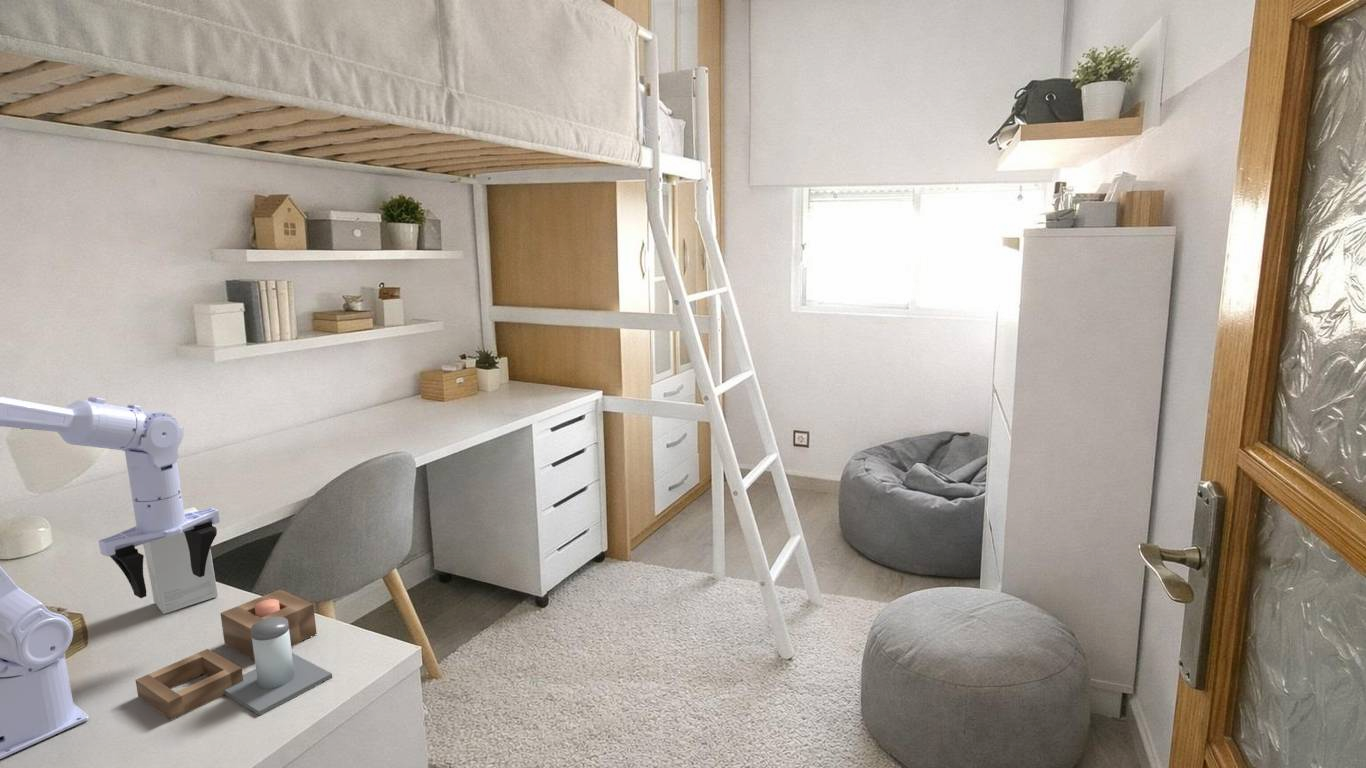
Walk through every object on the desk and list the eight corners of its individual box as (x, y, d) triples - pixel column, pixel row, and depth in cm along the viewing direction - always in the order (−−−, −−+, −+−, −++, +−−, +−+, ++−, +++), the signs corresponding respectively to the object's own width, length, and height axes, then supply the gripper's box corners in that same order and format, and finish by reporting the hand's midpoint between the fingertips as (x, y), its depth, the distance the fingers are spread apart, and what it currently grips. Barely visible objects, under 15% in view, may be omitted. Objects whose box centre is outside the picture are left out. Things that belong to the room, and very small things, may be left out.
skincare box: (208, 587, 132) (196, 505, 129) (219, 598, 128) (208, 514, 125) (150, 604, 126) (137, 519, 123) (160, 616, 122) (147, 528, 119)
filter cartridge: (270, 692, 101) (263, 636, 99) (250, 682, 103) (243, 628, 101) (301, 675, 105) (295, 621, 103) (281, 666, 107) (275, 613, 105)
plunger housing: (257, 662, 109) (253, 629, 108) (224, 644, 114) (220, 613, 113) (316, 634, 116) (313, 604, 115) (283, 618, 121) (280, 589, 120)
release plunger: (265, 642, 113) (262, 611, 112) (254, 636, 115) (250, 605, 114) (286, 633, 115) (283, 602, 114) (275, 627, 117) (271, 597, 116)
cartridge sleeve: (171, 720, 96) (168, 702, 96) (138, 696, 101) (135, 679, 101) (243, 684, 104) (241, 668, 103) (210, 664, 108) (207, 648, 108)
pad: (259, 715, 97) (258, 711, 97) (218, 690, 102) (218, 686, 102) (332, 677, 105) (331, 673, 105) (291, 655, 111) (290, 652, 110)
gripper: (109, 516, 99) (125, 613, 102) (225, 485, 111) (236, 572, 114) (86, 506, 103) (102, 599, 106) (201, 477, 115) (212, 561, 118)
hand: (170, 585), depth 110 cm, fingers open, 7 cm apart
